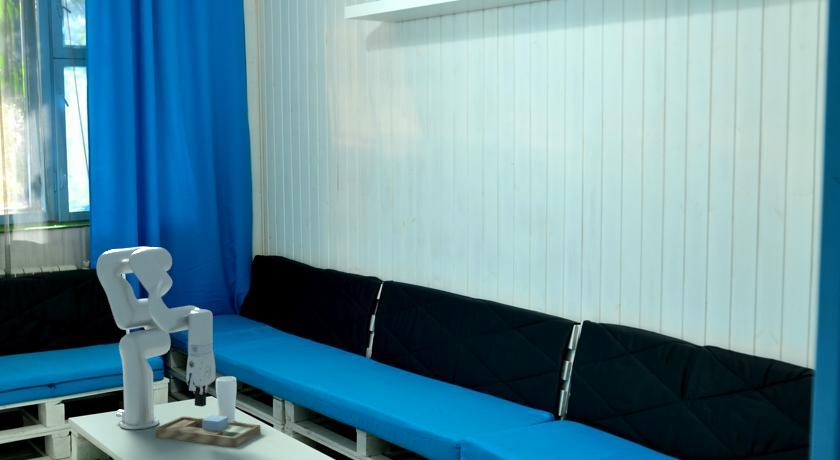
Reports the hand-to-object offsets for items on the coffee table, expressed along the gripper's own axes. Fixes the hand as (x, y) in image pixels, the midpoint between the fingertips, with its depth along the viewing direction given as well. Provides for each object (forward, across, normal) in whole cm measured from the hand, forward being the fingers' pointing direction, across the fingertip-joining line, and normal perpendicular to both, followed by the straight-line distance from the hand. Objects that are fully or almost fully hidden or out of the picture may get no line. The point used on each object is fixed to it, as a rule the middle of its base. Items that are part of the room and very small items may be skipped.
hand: (200, 405), depth 296 cm
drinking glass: (+12, +20, +3) cm, 24 cm away
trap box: (+11, +5, 0) cm, 12 cm away
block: (+9, +8, -1) cm, 12 cm away
